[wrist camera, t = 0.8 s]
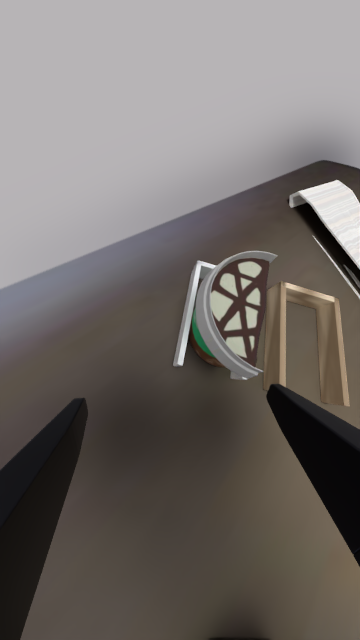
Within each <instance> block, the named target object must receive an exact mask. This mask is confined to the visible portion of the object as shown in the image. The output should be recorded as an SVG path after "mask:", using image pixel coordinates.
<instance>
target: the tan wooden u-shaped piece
mask: <svg viewBox="0 0 360 640" xmlns="http://www.w3.org/2000/svg"><path fill="white" fill-rule="evenodd" d="M286 301H290V302H293V303H297V304H300V305H303V306H307V307H310V308H314V309H316V317H317V335H318V353H319V371H320V389H321V402H323V403H329V404H335V405H342V406H349V407H350V405H349V396H348V386H347V376H346V366H345V356H344V347H343V337H342V327H341V317H340V307H339V299H338V298H335V297H331V296H328V295H325V294H322V293H318V292H315V291H312V290H309V289H305V288H302V287H299V286H295V285H292V284H289V283H286V282H282V281H280V282H279V283H277V284H276V285H274V286H273V287H272V288H270V289H269V290H267V309H266V333H265V357H264V381H263V390H268V389H269V387H270V385H271V384H276V383H278V384H281V385H283V386H284V387H286Z"/></svg>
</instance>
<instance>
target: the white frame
mask: <svg viewBox="0 0 360 640" xmlns="http://www.w3.org/2000/svg"><path fill="white" fill-rule="evenodd" d="M215 267H216V266H215V265H212V264H209V263H205V262H202V261H199V260H198V261H197V263H196V265H195V267H194V269H193V271H192V274H191V278H190V283H189V288H188V293H187V298H186V303H185V308H184V313H183V318H182V323H181V328H180V333H179V338H178V343H177V348H176V352H175V357H174V362H173V366H177V367H178V366H182V365H183V361H184V356H185V350H186V345H187V340H188V334H189V329H190V324H191V318H192V313H193V307H194V302H195V297H196V291H197V286H198V280H199V278H200V279H204V278H205V277H206V275H207V274H208V273H209V272H210V271H211V270H212V269H214V268H215ZM230 378H231V379H243V380H247V378H244V377H242V376H240V375H237V374H236V373H234V372H232V371H231V375H230Z"/></svg>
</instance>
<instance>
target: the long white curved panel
mask: <svg viewBox="0 0 360 640" xmlns="http://www.w3.org/2000/svg"><path fill="white" fill-rule="evenodd" d="M307 202H308V203H309V204H310V205H311V206H312V207H313V209H314V210H315V212H316V213H317V215H318V216H319V218H320V219H321V221H322V222H323V223H324V225H325V226H326V227H327V228H328V230H329V231H330V232H331V233H332V235H333V236H334V237H335V239H336V240H337V241H338V242H339V244H340V245H341V246H342V248H343V249H344V250H345V251H346V253H347V254H348V255H349V256H350V258H351V259H352V260H353V261H354V263H355V264H356V265H357V267H358V268H359V269H360V203H359V201H358V200H357V198H356V196H355V195H354V193H353V191H352V190H351V189H349V188H348V187H347V186H345V185H344V184H342V183H341V182H340V181H338V180H336V181H333V182H330V183H326V184H323V185H319V186H316V187H312V188H309V189H306V190H302V191H298V192H296V193H294V194H292V195H290V202H289V205H290V207H291V208H292V207H295V206H298V205H301V204H304V203H307ZM313 237H314V236H313ZM314 238H315V237H314ZM315 240H316V239H315ZM316 241H317V240H316ZM317 242H318V241H317ZM318 244H319V245H320V246H321V248H322V249H323V250H324V251H325V249H324V248H323V247H322V245H321V244H320V243H319V242H318ZM325 253H326V254H327V255H328V253H327V252H326V251H325ZM328 257H329V258H330V260H331V261H332V262H333V264H334V265H335V266H336V268H337V269H338V270H339V272H340V273H341V274H342V276H343V277H344V278H345V280H346V281H347V283H348V284H349V285H350V287H351V288H352V289H353V291H354V292H355V293H356V295H357V296H358V297H359V299H360V295H359V293H358V292H357V291H356V289H355V288H354V287H353V285H352V284H351V283H350V281H349V280H348V279H347V278H346V276H345V275H344V274H343V272H342V271H341V270H340V268H339V267H338V266H337V265H336V263H335V262H334V261H333V260H332V258H331V257H330V256H329V255H328ZM343 265H344V264H343ZM344 266H345V265H344ZM345 268H346V270H347V271H348V273H349V274H350V275H351V277H352V278H353V280H354V281H355V283H356V284H357V285H358V287H359V288H360V281H359V280H358V279H357V278H356V276H355V275H354V274H353V273H352V271H351V270H349V269H348V268H347V267H346V266H345Z"/></svg>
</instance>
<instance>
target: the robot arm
mask: <svg viewBox="0 0 360 640" xmlns="http://www.w3.org/2000/svg"><path fill="white" fill-rule="evenodd" d="M266 397H267V401H268V403H269V405H270V408H271V410H272V412H273V414H274V416H275V418H276V420H277V422H278V425H279V427H280V429H281V431H282V432H283V434H284V436H285V438H286V439H287V441H288V443H289V445H290V446H291V448H292V450H293V452H294V453H295V455H296V457H297V458H298V460H299V462H300V464H301V465H302V467H303V469H304V471H305V472H306V474H307V476H308V478H309V479H310V481H311V483H312V484H313V486H314V488H315V490H316V491H317V493H318V495H319V497H320V498H321V500H322V502H323V504H324V505H325V507H326V509H327V510H328V512H329V514H330V516H331V517H332V519H333V521H334V523H335V524H336V526H337V528H338V530H339V531H340V533H341V535H342V536H343V538H344V540H345V542H346V543H347V545H348V547H349V549H350V550H351V552H352V554H354V558H355V559H356V561H357V563H358V564H359V566H360V429H358V428H356V427H354V426H353V425H351V424H349V423H347V422H346V421H344V420H342V419H340V418H339V417H337V416H335V415H333V414H332V413H330V412H328V411H326V410H325V409H323V408H321V407H319V406H318V405H316V404H314V403H312V402H311V401H309V400H307V399H305V398H304V397H302V396H300V395H298V394H297V393H295V392H293V391H291V390H290V389H288V388H286V387H284V386H283V385H281V384H278V383H276V384H271V385H270V387H269V389H268V392H267V395H266ZM87 416H88V410H87V404H86V400H85V398H76V399H74V400H72V401H71V402H70V403H69V404H68V405H67V406H66V407H65V408H64V409H63V410H62V411H61V412H60V413H59V414H58V415H57V416H56V417H55V418H54V419H53V420H52V421H51V422H50V423H48V424H47V425H46V426H45V427H44V428H43V429H42V430H41V431H40V432H39V433H38V434H37V435H36V436H35V437H34V438H33V439H32V440H31V441H30V442H29V443H28V444H27V445H26V446H25V447H24V448H23V449H21V450H20V451H19V452H18V453H17V454H16V455H15V456H14V457H13V458H12V459H11V460H10V461H9V462H8V463H7V464H6V465H5V466H4V467H3V468H2V469H1V470H0V640H20V638H21V635H22V632H23V629H24V626H25V622H26V619H27V616H28V613H29V610H30V607H31V604H32V601H33V598H34V595H35V591H36V588H37V585H38V582H39V579H40V576H41V573H42V570H43V567H44V563H45V560H46V557H47V554H48V551H49V548H50V545H51V542H52V539H53V535H54V532H55V529H56V526H57V523H58V520H59V517H60V514H61V511H62V507H63V504H64V501H65V498H66V495H67V492H68V489H69V486H70V483H71V480H72V476H73V473H74V470H75V467H76V464H77V461H78V457H79V454H80V449H81V445H82V440H83V435H84V431H85V426H86V421H87Z"/></svg>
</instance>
